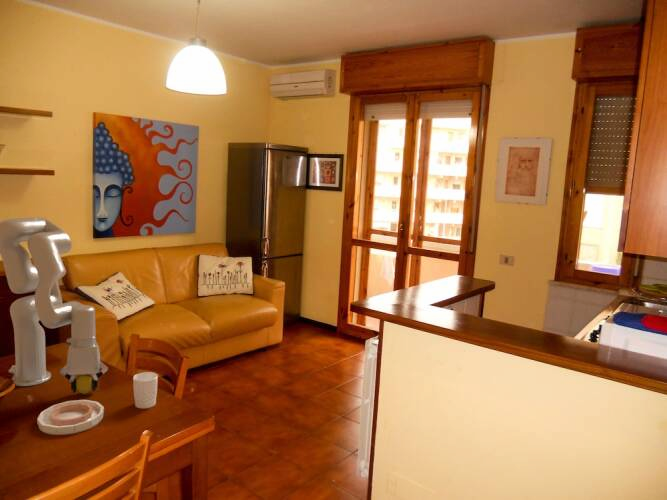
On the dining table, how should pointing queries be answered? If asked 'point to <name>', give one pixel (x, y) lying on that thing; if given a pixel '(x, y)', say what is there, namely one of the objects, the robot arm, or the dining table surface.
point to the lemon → (84, 383)
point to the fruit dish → (70, 417)
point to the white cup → (145, 389)
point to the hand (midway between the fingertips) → (84, 390)
